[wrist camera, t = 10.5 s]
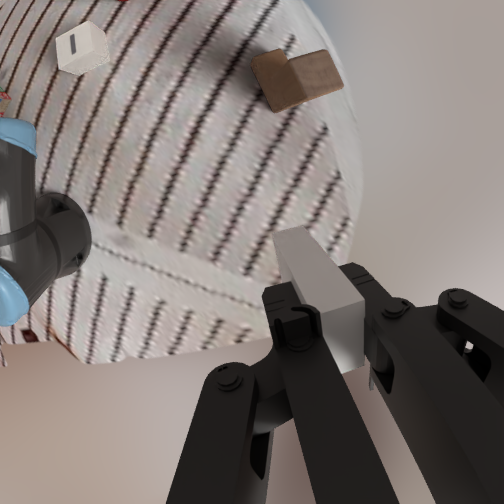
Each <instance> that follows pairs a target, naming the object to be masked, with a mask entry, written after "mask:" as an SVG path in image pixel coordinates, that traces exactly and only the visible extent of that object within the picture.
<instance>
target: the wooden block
mask: <svg viewBox="0 0 504 504" xmlns="http://www.w3.org/2000/svg"><path fill="white" fill-rule="evenodd" d="M250 66H251V68H252V70H253V72H254V74H255V76H256V78H257V80H258V82H259V84H260V86H261V88H262V90H263V92H264V94H265V96H266V98H267V101H268V103H269V105H270V107H271V109H272V111H273V112H274V113H278V112H280V111H283V110H286V109H288V108H291V107H294V106H296V105H299V104H301V103H304V102H307V101H309V100H312V99H314V98H317V97H320V96H323V95H325V94H328V93H331V92H334V91H337V90H340V89H342V88H343V87H344V84H343V82H342V80H341V77H340V75H339V73H338V71H337V69H336V67H335V64H334V62H333V60H332V58H331V56H330V54H329V52H328V51H327V50H319V51H315V52H312V53H308V54H305V55H301V56H298V57H294V58H291V59H289V60H288V59H287V57H286V56H285V54H284V52H283V51H282V50H281V49H276V50H273V51H270V52H267V53H264V54H261V55H258V56H255V57H253V59H252V61H251V64H250Z"/></svg>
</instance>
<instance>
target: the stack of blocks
mask: <svg viewBox="0 0 504 504" xmlns="http://www.w3.org/2000/svg"><path fill="white" fill-rule="evenodd" d="M10 101H11V98H10V97H9V96H8V95H7V94H6V93H5V92H4V91H3V90H2V88H1V87H0V117H2V115H3V113H4V112H5V110H6V108H7V106H8V105H9V103H10Z"/></svg>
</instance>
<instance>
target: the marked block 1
mask: <svg viewBox="0 0 504 504" xmlns="http://www.w3.org/2000/svg"><path fill="white" fill-rule="evenodd" d="M56 49H57V58H58V66H59V69H60V70H63V71H66V72H69V73H72V74H75V75H78V76H80V75H82V74H84V73H85V72H87V71H90V70H92V69H94V68H96V67H98V66H100V65H102V64H104V63H107V62H109V61H110V58H109V53H108V47H107V41H106V34H105V32H103V31H102V30H101V29H100V28H98V27H97V26H96V25H95V24H93V23H92V22H91V21H90V20H88V21H86V22H84V23H82V24H81V25H79V26H77V27H75V28H73V29H71V30H69V31H68V32H66V33H64V34H62V35H61V36H59V37H57V38H56Z"/></svg>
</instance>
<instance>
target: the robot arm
mask: <svg viewBox="0 0 504 504" xmlns="http://www.w3.org/2000/svg"><path fill="white" fill-rule="evenodd" d="M36 159H37V153H36V130H35V127H34V126H33V125H32V124H31V123H30V122H28V121H25V120H20V119H14V118H4V117H0V326H3V327H6V326H11V325H13V324H14V323H16V322H17V321H18V320H19V319H20V318H21V317H22V316H23V315H25V314H26V313H27V312H28V310H29V309H30V308H31V306H32V305H33V304H34V303H35V302H36V300H37V299H38V298H39V297H40V296H41V295H42V293H43V292H44V291H45V290H46V289H47V288H48V286H49V285H50V284H51V283H52V282H53V281H54V280H55V279H58V278H61V277H64V276H67V275H70V274H72V273H74V272H75V271H77V270H78V269H79V268H80V267H81V266H82V264H83V263H84V262H85V261H86V259H87V257H88V255H89V253H90V249H91V230H90V226H89V223H88V220H87V218H86V216H85V214H84V212H83V211H82V209H81V208H80V207H79V205H78V204H77V203H76V202H75V201H73V200H72V199H71V198H69V197H67V196H65V195H63V194H58V193H50V194H47V195H44V196H42V197H40V198H38V199H36V196H35V162H36ZM272 237H273V242H274V246H275V251H276V255H277V260H278V264H279V269H280V273H281V278H282V283H281V284H278V285H274V286H270V287H266V288H265V290H264V292H263V294H262V300H263V304H264V307H265V311H266V315H267V319H268V323H269V328H270V332H271V335H272V339H273V346H272V349H271V351H270V352H269V354H268V355H267V356H266V357H265V358H264V359H262V360H261V361H259V362H257V363H256V364H254V365H252V366H248V365H246V364H244V363H238V362H231V363H226V364H223V365H220V366H218V367H216V368H215V369H214V370H212V371H211V372H210V373H209V374H208V376H207V378H206V379H205V381H204V385H203V387H202V391H201V394H200V397H199V400H198V403H197V406H196V410H195V412H194V416H193V419H192V422H191V425H190V428H189V432H188V434H187V438H186V441H185V444H184V447H183V450H182V453H181V456H180V460H179V463H178V466H177V469H176V472H175V475H174V479H173V482H172V485H171V488H170V491H169V495H168V498H167V501H166V504H265V502H266V495H267V487H268V479H269V470H270V463H271V454H272V445H273V435H274V428H276V427H278V426H280V425H282V424H283V423H285V422H287V421H289V420H290V419H292V418H294V422H295V426H296V429H297V433H298V437H299V441H300V445H301V448H302V452H303V456H304V460H305V463H306V467H307V471H308V475H309V478H310V482H311V486H312V490H313V493H314V497H315V501H316V504H399V501H398V499H397V497H396V494H395V492H394V490H393V487H392V485H391V483H390V480H389V478H388V475H387V473H386V471H385V469H384V466H383V464H382V462H381V459H380V457H379V455H378V453H377V450H376V448H375V446H374V444H373V441H372V439H371V437H370V435H369V432H368V430H367V428H366V426H365V424H364V421H363V419H362V417H361V415H360V413H359V410H358V408H357V406H356V404H355V402H354V400H353V398H352V395H351V393H350V391H349V389H348V387H347V385H346V383H345V381H344V379H343V376H342V373H344V372H348V371H350V370H353V369H356V368H359V367H361V366H364V361H365V355H366V357H367V359H368V360H369V362H370V377H369V388H370V390H373V386H374V383H375V385H376V386H377V388H378V390H379V392H380V394H381V395H382V397H383V399H384V401H385V403H386V405H387V406H388V408H389V410H390V412H391V414H392V416H393V418H394V420H395V421H396V424H397V425H398V427H399V429H400V431H401V433H402V435H403V437H404V439H405V441H406V443H407V445H408V447H409V449H410V451H411V453H412V454H413V457H414V459H415V461H416V463H417V465H418V467H419V469H420V471H421V473H422V475H423V477H424V479H425V481H426V483H427V485H428V487H429V489H430V492H431V494H432V496H433V498H434V500H435V503H436V504H504V311H503V310H501V309H499V308H498V307H496V306H494V305H492V304H490V303H489V302H487V301H485V300H483V299H482V298H480V297H478V296H476V295H474V294H473V293H471V292H469V291H466V290H463V289H458V288H453V289H448V290H446V291H444V292H442V293H441V294H440V296H439V299H438V305H432V306H425V307H415V306H414V305H413V304H412V303H411V302H409V301H408V300H406V299H403V298H396V297H391V295H390V294H389V293H388V292H387V291H386V290H385V289H384V288H383V287H382V286H381V285H380V284H379V283H378V282H377V281H376V280H375V279H374V277H372V275H370V274H369V272H368V271H367V270H365V268H364V267H362V266H360V265H358V264H355V263H353V262H352V263H349V264H345V265H342V266H337V265H336V264H335V263H334V261H333V260H332V259H331V258H330V257H329V255H328V254H327V253H326V252H325V251H324V250H323V248H322V247H321V246H320V245H319V244H318V243H317V241H316V240H315V239H314V238H313V237H312V236H311V235H310V233H309V232H308V231H307V230H306V229H305V228H304V227H303V225H302V226H298V227H294V228H290V229H286V230H283V231H279V232H275V233H272ZM467 341H469V342H470V343H472V344H473V348H472V349H467V348H465V346H466V343H467Z"/></svg>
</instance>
